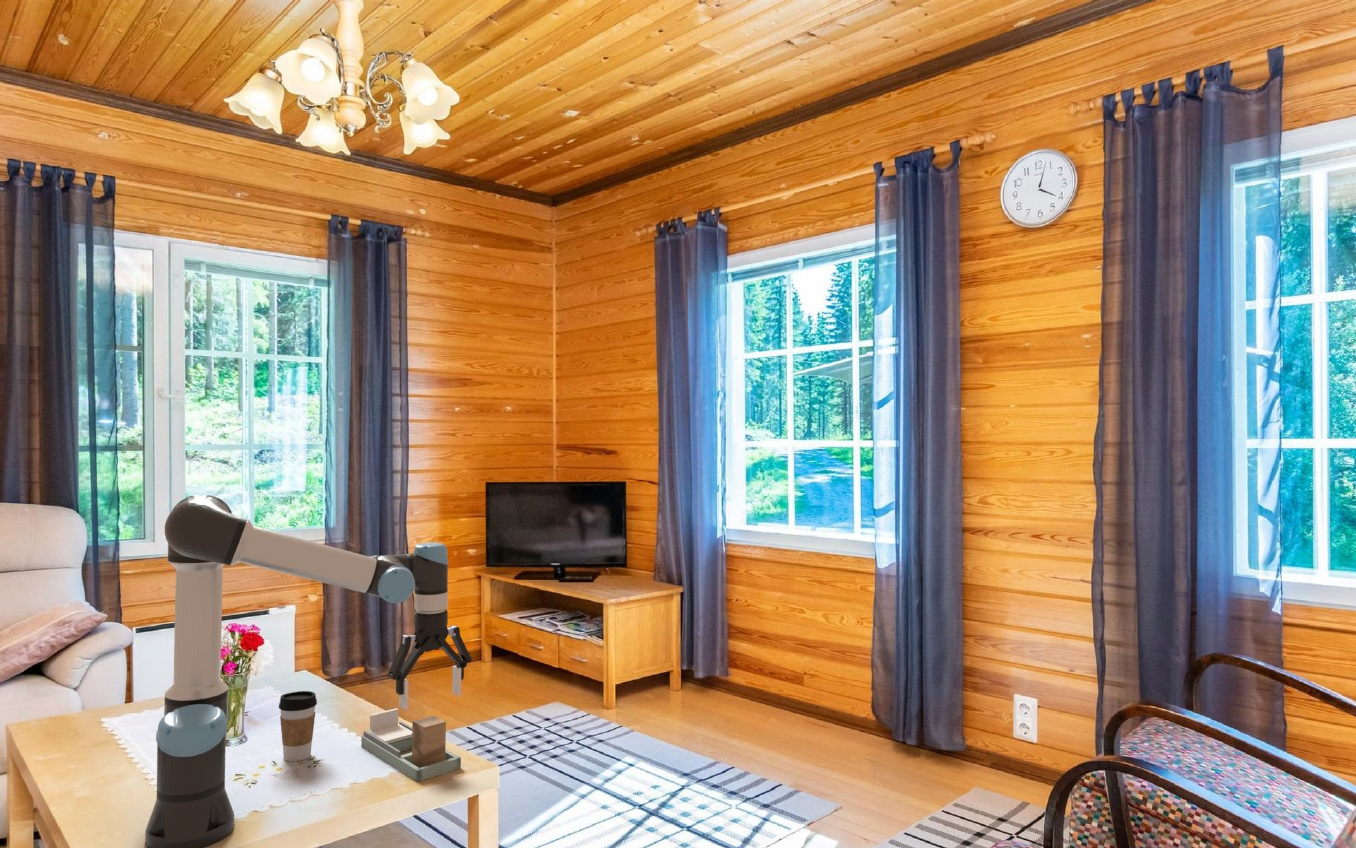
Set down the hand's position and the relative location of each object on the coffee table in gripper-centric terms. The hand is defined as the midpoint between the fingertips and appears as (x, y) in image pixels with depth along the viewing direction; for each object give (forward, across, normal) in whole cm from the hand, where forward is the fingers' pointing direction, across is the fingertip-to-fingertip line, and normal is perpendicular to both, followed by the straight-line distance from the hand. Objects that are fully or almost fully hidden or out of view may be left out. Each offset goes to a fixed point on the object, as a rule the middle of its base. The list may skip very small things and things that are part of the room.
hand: (430, 701), depth 201 cm
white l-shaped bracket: (+13, 0, -18) cm, 22 cm away
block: (+16, 0, 0) cm, 16 cm away
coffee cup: (+16, +20, -27) cm, 37 cm away
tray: (+16, 0, -9) cm, 18 cm away
